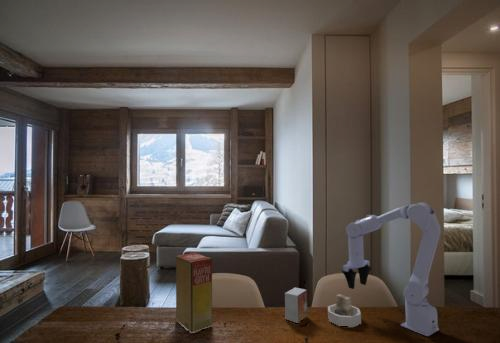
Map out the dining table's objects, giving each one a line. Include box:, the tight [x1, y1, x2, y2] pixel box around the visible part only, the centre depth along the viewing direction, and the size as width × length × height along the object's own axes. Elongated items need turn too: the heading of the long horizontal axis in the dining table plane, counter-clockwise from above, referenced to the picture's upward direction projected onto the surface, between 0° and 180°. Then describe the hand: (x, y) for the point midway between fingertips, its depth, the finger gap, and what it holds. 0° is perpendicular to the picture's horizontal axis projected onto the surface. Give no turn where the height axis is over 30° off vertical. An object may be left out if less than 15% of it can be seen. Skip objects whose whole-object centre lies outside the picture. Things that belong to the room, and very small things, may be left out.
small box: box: [284, 287, 308, 324], centre depth 115 cm, size 8×6×10 cm
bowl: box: [327, 303, 362, 328], centre depth 114 cm, size 12×12×4 cm
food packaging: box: [175, 252, 213, 332], centre depth 113 cm, size 13×9×25 cm
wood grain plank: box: [335, 293, 352, 316], centre depth 114 cm, size 5×2×8 cm, turn 33°
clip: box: [335, 309, 353, 316], centre depth 114 cm, size 4×6×3 cm
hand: (357, 286), depth 121 cm, fingers open, 7 cm apart
